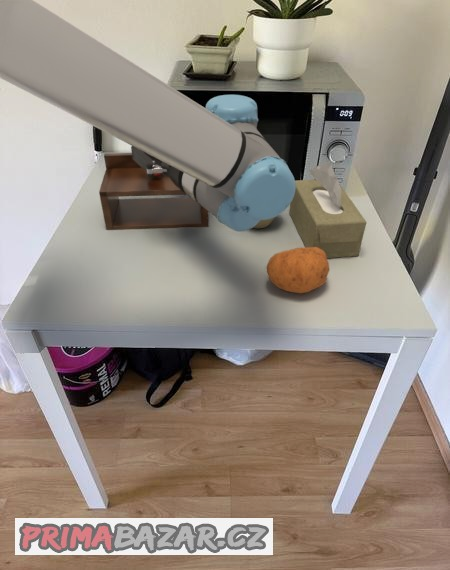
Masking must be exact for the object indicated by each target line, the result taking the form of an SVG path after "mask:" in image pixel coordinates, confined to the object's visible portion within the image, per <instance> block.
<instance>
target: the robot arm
mask: <svg viewBox="0 0 450 570" xmlns="http://www.w3.org/2000/svg"><path fill="white" fill-rule="evenodd" d="M0 79H1V80H3V81H5V82H6V83H9V84H11V85H12V86H15V87H17V88H18V89H21V90H23V91H25V92H26V93H29V94H30V95H33V96H34V97H36V98H38V99H40V100H42V101H44V102H46V103H47V104H50V105H52V106H54V107H55V108H57V109H60V110H62V111H63V112H65V113H67V114H70V115H72V116H73V117H75V118H77V119H79V120H81V121H83V122H85V123H87V124H89V125H90V126H93V127H95V128H96V129H98V130H100V131H102V132H104V133H106V134H108V135H110V136H112V137H114V138H117V139H118V140H119V141H122V142H124V143H126V144H128V145H130V151H131V153H132V158H133V160H134V161H135V162H136V163H137V164H138V165H139V166H140V167H141V168H142V169H143V170H145V171H146V172H147V177H148V178H153V177H154V174H156V173H162V174H163V175H164V176H168V177H170V179H171V180H172V182H173V183H174V184H175V185H176V186H177V187H178V188H179V189H180V190H182V191H183V192H184V193H186V194H187V195H186V196H187V197H188V196H189V197H191V198H192V199H193V200H195V201H196V202H197V203H198V204H200V205H201V206H203V207H204V208H205V209H206V210H207V211H208V213H210V214H211V215H212V216H213V217H215V218H216V219H217V221H218V222H219V223H220V224H223V225H224V226H226V227H228V228H229V229H231V230H233V231H234V232H235V231H236V232H240V233H241V232H247V231H248V230H251V229H254V228H253V227H254V226H255V225H257V224H258V223H259V221H260V220H267V219H271V218H274V217H275V218H276V217H278V216H280V215H281V214H282V213H284V212H285V211H286V210H287V208H288V207H290V203H291V201H292V200H293V197H294V194H295V189H296V185H295V181H296V180H295V177H294V175H293V173H292V172H291V170H290V168H289V166H288V164H287V161H285V159H283V158H281V157H280V156H279V154H278V153H277V152H276V151H275V149H273V147H272V146H271V145H270V144H269V142H268V141H267V140H266V139H265V137H264V136H263V135H262V134H261V132H260V131H259V130H258V128H257V127H258V122H259V118H258V105H257V102H256V101H255V100H254V99H252V98H251V97H248V96H245V95H241V94H223V95H217V96H214V97H212V98H210V99H209V100H208V101H207V102H206V104H205V107H204V106H202V105H201V104H199V103H198V102H196V101H194V100H193V99H191V98H190V97H188V96H187V95H185V94H183V93H182V92H180V91H179V90H177V89H175V88H173V87H172V86H171V85H169V84H167V83H166V82H164V81H162V80H161V79H160V78H158V77H157V76H155V75H153V74H152V73H150V72H148V71H147V70H145V69H143V68H142V67H140V66H139V65H137V64H136V63H134V62H132V61H131V60H129V59H128V58H126V57H124V56H122V55H121V54H120V53H118V52H116V51H114V50H113V49H112V48H110V47H108V46H106V45H105V44H103V43H102V42H100V41H98V40H97V39H96V38H95V37H92V36H91V35H89V34H88V33H86V32H85V31H83V30H81V29H79V28H78V27H76V26H75V25H74V24H72V23H70V22H68V21H66V20H65V19H64V18H62V17H60V16H58V14H55V12H53V11H51V10H49V9H48V8H46V7H44V5H41V4H40V3H38V2H36V1H35V0H0ZM158 165H159V166H158ZM275 218H274V219H275Z"/></svg>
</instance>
